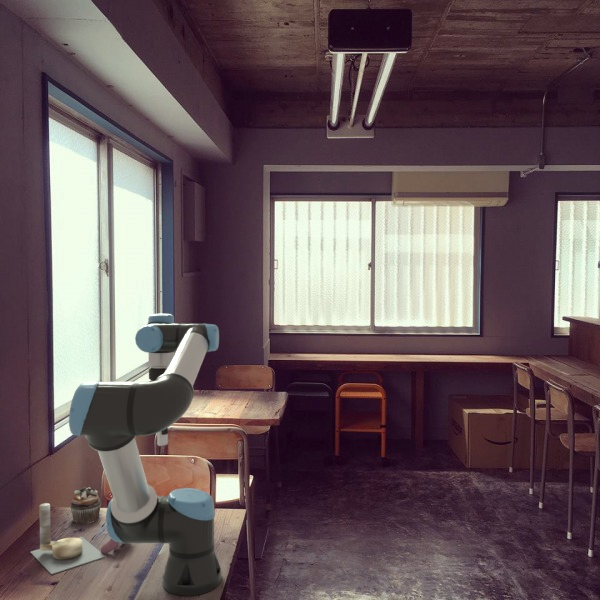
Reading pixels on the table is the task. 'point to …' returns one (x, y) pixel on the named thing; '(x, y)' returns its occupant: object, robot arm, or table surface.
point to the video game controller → (110, 546)
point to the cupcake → (85, 505)
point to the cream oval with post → (62, 547)
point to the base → (59, 565)
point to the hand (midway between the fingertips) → (162, 444)
